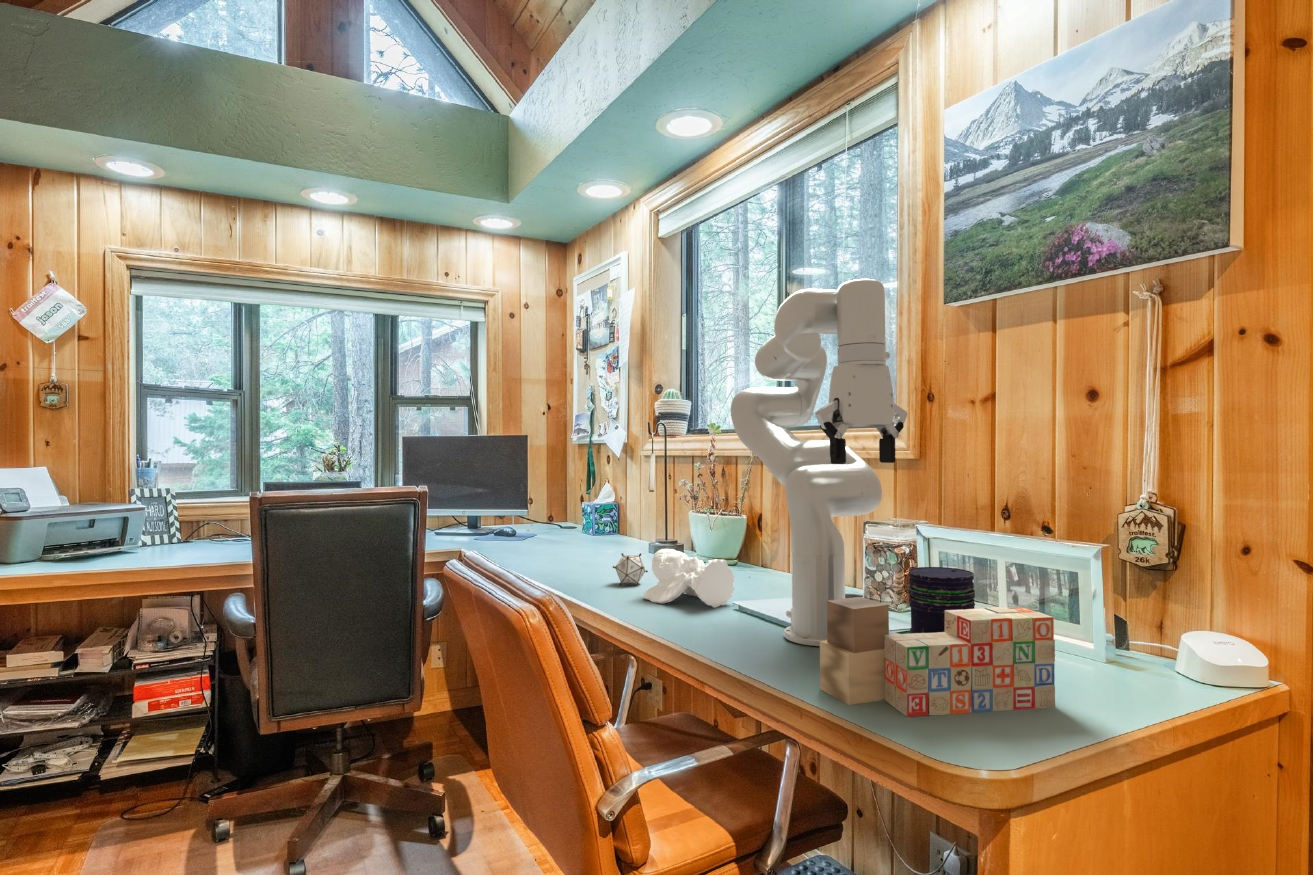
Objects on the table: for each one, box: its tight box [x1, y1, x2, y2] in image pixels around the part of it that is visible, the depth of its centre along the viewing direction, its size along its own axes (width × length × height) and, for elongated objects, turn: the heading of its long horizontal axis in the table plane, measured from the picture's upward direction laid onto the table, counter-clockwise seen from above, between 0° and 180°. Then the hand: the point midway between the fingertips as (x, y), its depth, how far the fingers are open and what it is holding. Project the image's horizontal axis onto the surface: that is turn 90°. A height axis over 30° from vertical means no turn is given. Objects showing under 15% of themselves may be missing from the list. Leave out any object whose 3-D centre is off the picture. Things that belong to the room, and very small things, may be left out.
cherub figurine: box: [642, 548, 735, 609], centre depth 163 cm, size 13×12×20 cm
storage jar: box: [907, 566, 976, 634], centre depth 113 cm, size 10×10×15 cm
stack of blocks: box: [884, 606, 1056, 718], centre depth 97 cm, size 21×6×12 cm, turn 99°
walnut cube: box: [827, 596, 890, 653], centre depth 101 cm, size 6×6×6 cm
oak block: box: [819, 640, 885, 706], centre depth 101 cm, size 7×7×7 cm
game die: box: [612, 552, 649, 587], centre depth 184 cm, size 9×8×10 cm
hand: (863, 463), depth 116 cm, fingers open, 9 cm apart
